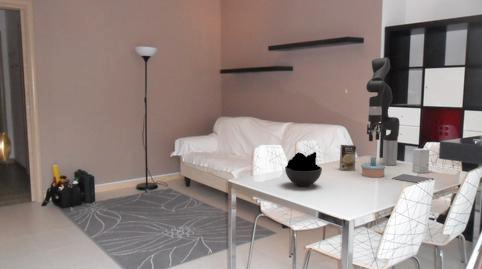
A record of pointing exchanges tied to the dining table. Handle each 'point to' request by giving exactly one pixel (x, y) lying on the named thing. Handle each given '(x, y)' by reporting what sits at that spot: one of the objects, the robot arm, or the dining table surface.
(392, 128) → the robot arm
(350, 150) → the coffee box
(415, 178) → the mat
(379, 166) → the lid
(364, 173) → the bowl
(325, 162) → the dining table surface
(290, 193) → the dining table surface
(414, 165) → the skincare box
